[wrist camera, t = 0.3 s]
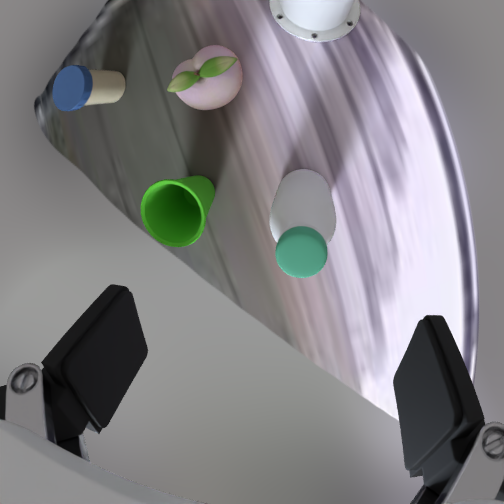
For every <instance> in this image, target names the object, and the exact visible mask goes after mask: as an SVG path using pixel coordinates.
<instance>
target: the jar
mask: <svg viewBox="0 0 504 504" xmlns="http://www.w3.org/2000/svg"><path fill="white" fill-rule="evenodd" d="M88 70H89V71H90V73H91V75H92V79H93V88H92V92H91V95H90V97H89V100H88V101H87V102H86V103H85V105H84V106H86V105H96V104H107V103H114V102H116V101H117V100H119V99H120V98H121V96H122V95H123V93H124V90H125V78H124V76H123V75H122V74H121V73H120V72H118V71H112V70H97V69H88Z"/></svg>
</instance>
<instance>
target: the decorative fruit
mask: <svg viewBox="0 0 504 504" xmlns="http://www.w3.org/2000/svg"><path fill="white" fill-rule="evenodd" d="M242 79H243V75H242V68H241V65H240V62H239V60H238V58H237V56H236V55H235V54H234V53H233V52H232V51H231V50H229V49H228V48H226V47H223V46H220V45H211V46H207V47H204V48H202V49H201V50H200V51H198V52H197V53H196V55H195V56H194V58H193V59H189V60H186V61H184V62H182V63H181V64H179V65H178V66H177V68H176V69H175V71H174V73H173V77H172V81H171V82H170V84H169V86H168V89H167V91H170V92H176V94H177V95H178V96H179V97H180V98H181V99H182V100H183V101H184V102H185V103H186V104H187V105H189V106H190V107H192V108H195V109H199V110H211V109H216V108H219V107H222V106H224V105H226V104H227V103H229V102H230V101H231V100H232V99H233V98H234V97H235V96H236V95H237V93H238V92H239V90H240V87H241V85H242Z"/></svg>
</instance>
